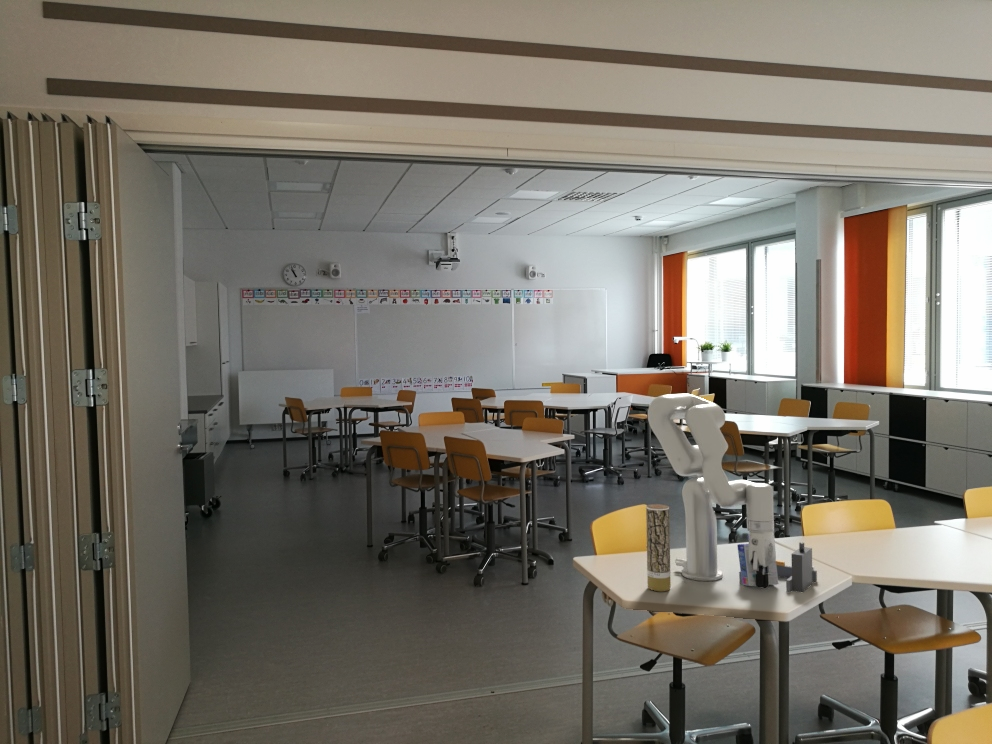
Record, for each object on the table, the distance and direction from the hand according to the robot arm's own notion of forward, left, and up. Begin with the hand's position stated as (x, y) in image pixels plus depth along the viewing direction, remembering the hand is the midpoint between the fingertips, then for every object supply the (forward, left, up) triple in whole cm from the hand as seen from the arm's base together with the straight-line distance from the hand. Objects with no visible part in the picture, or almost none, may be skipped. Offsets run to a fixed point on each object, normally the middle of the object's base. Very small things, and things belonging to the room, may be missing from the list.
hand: (762, 587), depth 212 cm
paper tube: (-26, -16, -2) cm, 30 cm away
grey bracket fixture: (+1, +11, -1) cm, 11 cm away
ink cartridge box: (-2, +4, -1) cm, 5 cm away
